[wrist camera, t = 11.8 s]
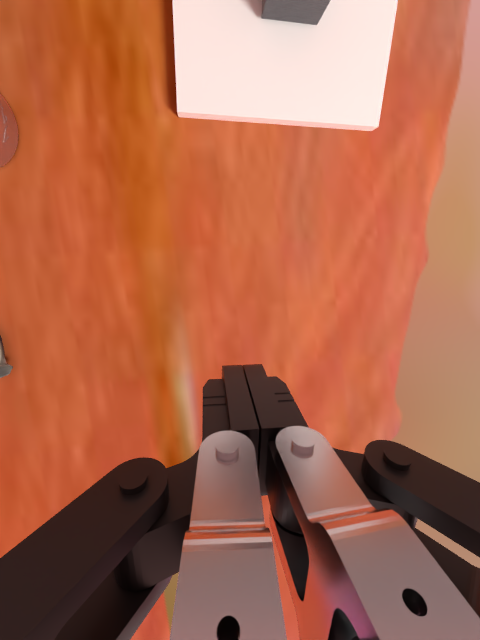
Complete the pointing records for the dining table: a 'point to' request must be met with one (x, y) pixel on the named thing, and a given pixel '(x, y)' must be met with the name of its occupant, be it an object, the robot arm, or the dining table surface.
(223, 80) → the base board
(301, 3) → the shaft
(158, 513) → the robot arm
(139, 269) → the dining table surface
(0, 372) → the salad plate
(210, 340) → the dining table surface
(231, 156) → the dining table surface
